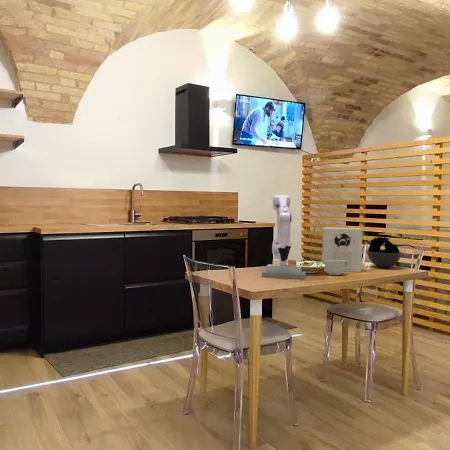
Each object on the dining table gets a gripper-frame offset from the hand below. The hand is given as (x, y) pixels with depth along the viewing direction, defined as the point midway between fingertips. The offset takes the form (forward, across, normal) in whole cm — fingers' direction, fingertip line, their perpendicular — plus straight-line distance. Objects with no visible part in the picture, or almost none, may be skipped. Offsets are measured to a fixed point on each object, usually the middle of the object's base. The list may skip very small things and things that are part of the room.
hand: (284, 260), depth 250 cm
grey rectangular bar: (+6, 0, 0) cm, 6 cm away
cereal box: (+9, +33, -29) cm, 45 cm away
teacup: (+9, +17, -27) cm, 33 cm away
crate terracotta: (+3, 0, -4) cm, 5 cm away
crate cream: (+3, 0, +4) cm, 5 cm away
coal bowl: (+9, +54, -54) cm, 77 cm away
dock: (+9, 0, 0) cm, 9 cm away
